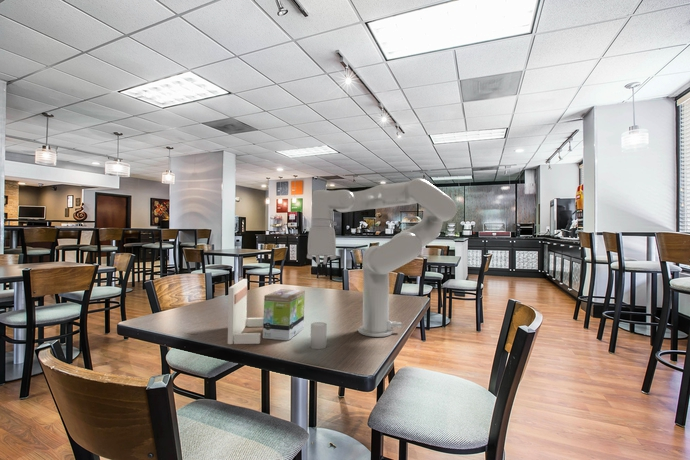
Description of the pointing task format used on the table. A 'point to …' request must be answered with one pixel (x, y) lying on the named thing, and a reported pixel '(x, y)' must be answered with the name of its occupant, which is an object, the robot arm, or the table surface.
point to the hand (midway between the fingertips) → (321, 275)
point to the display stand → (241, 316)
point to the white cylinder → (318, 335)
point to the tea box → (283, 314)
